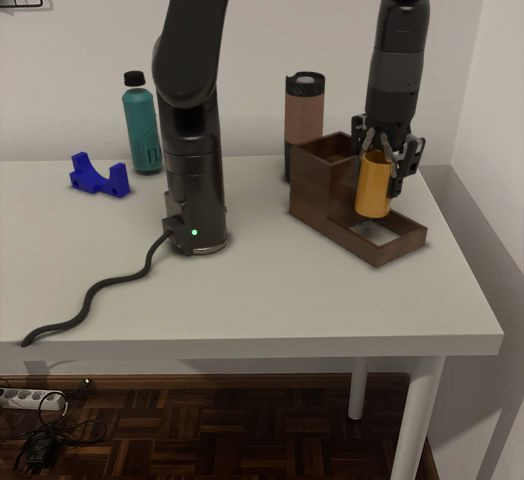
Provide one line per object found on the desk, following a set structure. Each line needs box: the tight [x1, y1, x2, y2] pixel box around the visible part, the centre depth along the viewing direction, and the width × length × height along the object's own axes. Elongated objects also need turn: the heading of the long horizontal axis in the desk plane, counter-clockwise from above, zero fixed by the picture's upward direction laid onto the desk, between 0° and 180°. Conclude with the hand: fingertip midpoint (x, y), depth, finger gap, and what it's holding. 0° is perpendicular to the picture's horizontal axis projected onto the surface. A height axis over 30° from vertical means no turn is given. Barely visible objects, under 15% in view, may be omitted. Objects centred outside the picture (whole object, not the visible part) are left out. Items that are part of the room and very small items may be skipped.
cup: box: [355, 150, 399, 218], centre depth 91 cm, size 6×6×9 cm
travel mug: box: [283, 70, 326, 185], centre depth 111 cm, size 8×8×20 cm
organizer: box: [289, 130, 429, 269], centre depth 98 cm, size 12×23×13 cm, turn 36°
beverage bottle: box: [121, 70, 164, 172], centre depth 115 cm, size 6×7×20 cm
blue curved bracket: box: [68, 151, 131, 199], centre depth 113 cm, size 12×4×6 cm, turn 58°
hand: (378, 189), depth 92 cm, fingers closed on cup, 6 cm apart
